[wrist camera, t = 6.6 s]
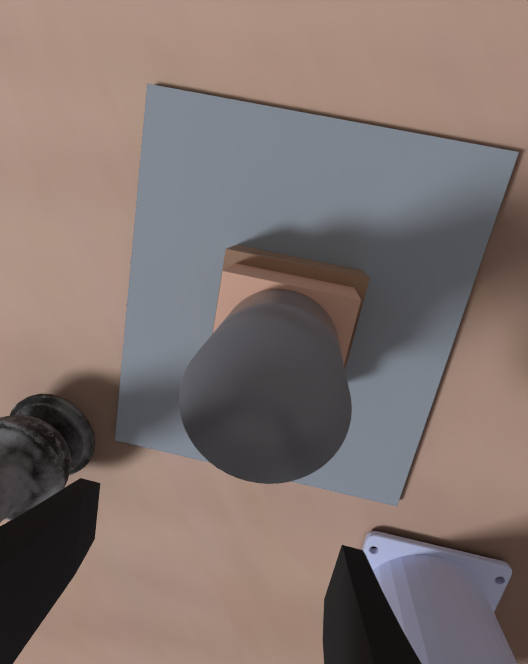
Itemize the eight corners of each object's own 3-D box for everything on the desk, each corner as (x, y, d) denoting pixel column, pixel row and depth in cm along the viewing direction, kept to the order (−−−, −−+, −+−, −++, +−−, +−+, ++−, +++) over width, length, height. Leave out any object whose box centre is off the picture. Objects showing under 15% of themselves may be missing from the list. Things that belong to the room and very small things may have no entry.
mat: (395, 501, 22) (396, 506, 22) (117, 436, 23) (114, 440, 23) (514, 153, 17) (518, 151, 17) (150, 86, 18) (147, 83, 18)
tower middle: (326, 396, 18) (328, 424, 16) (217, 372, 18) (202, 396, 16) (354, 287, 17) (361, 299, 14) (235, 263, 17) (222, 271, 15)
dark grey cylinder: (321, 413, 16) (326, 501, 11) (211, 386, 16) (167, 460, 11) (353, 304, 14) (373, 349, 10) (232, 276, 15) (193, 306, 10)
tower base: (332, 386, 21) (334, 409, 18) (217, 361, 21) (204, 380, 19) (362, 270, 19) (369, 278, 16) (236, 244, 19) (225, 248, 17)
